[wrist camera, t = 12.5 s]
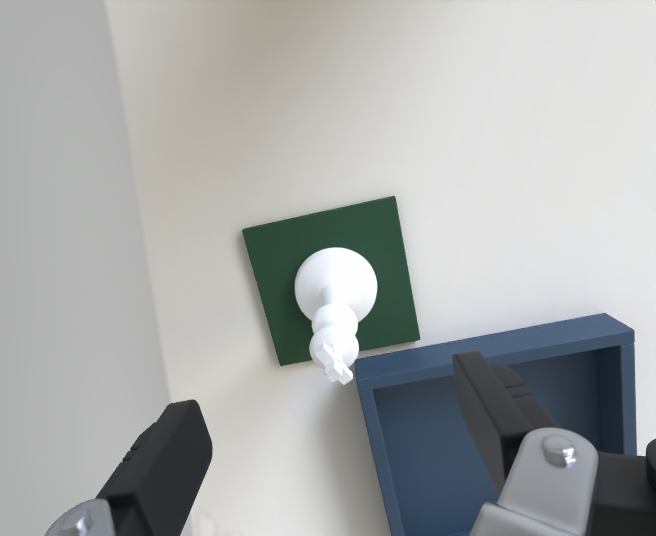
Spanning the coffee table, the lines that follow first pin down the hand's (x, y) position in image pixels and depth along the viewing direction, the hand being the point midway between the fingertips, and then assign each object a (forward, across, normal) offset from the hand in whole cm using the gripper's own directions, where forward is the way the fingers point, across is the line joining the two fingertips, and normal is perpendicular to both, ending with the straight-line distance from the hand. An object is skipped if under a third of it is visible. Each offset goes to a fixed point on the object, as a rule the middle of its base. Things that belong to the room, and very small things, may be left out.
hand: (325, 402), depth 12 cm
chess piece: (+12, 0, 0) cm, 12 cm away
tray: (+12, -8, +13) cm, 20 cm away
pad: (+12, 0, 0) cm, 12 cm away
